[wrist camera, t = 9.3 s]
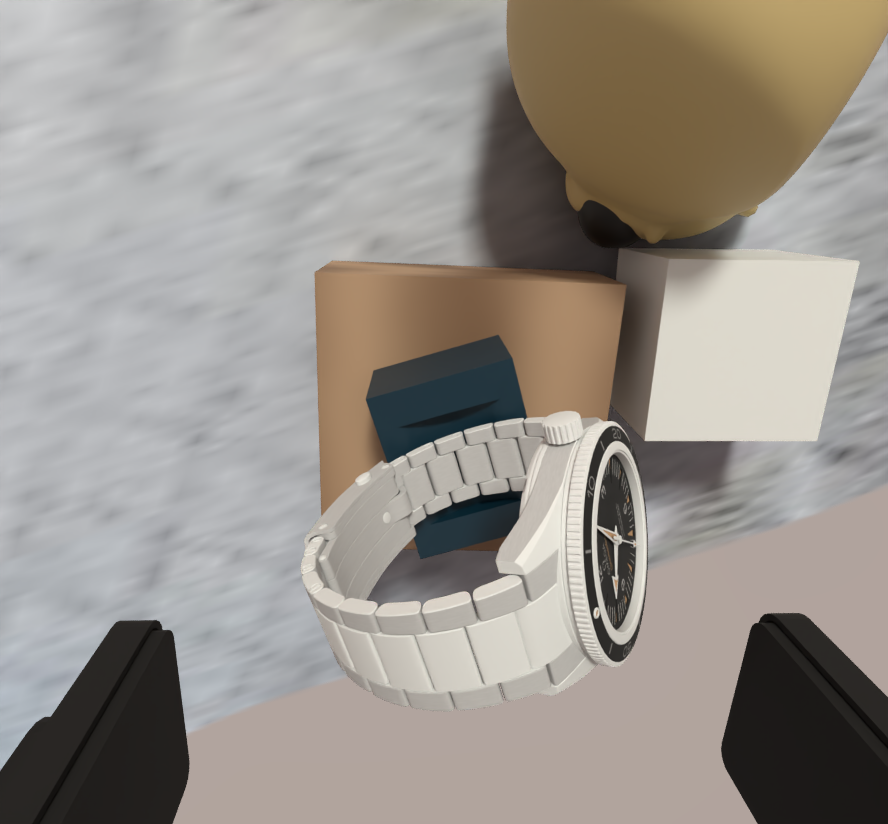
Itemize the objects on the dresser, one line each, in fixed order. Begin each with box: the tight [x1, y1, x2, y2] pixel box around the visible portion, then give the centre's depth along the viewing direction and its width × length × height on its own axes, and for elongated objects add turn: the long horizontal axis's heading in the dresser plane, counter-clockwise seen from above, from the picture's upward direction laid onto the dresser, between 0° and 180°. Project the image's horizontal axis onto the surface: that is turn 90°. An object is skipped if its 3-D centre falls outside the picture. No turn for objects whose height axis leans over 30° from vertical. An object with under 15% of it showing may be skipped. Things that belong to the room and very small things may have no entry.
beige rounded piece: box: [507, 0, 888, 248], centre depth 17 cm, size 10×12×11 cm
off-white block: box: [610, 248, 860, 441], centre depth 22 cm, size 6×6×5 cm
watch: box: [301, 335, 648, 711], centre depth 15 cm, size 6×8×11 cm
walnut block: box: [315, 261, 627, 551], centre depth 23 cm, size 10×10×4 cm
